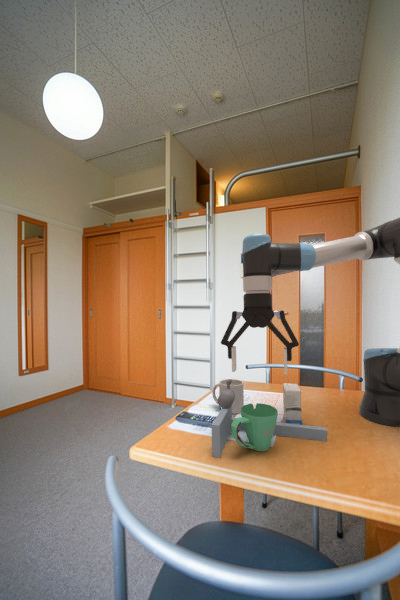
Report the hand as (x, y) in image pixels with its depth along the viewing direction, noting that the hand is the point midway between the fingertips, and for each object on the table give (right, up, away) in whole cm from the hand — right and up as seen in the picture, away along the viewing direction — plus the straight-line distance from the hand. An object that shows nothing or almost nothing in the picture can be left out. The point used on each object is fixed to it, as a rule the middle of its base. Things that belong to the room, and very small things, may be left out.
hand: (259, 372), depth 74 cm
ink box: (+14, -21, +15) cm, 29 cm away
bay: (+3, -20, +2) cm, 21 cm away
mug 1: (-5, -21, +28) cm, 36 cm away
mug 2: (-2, -21, -1) cm, 21 cm away
